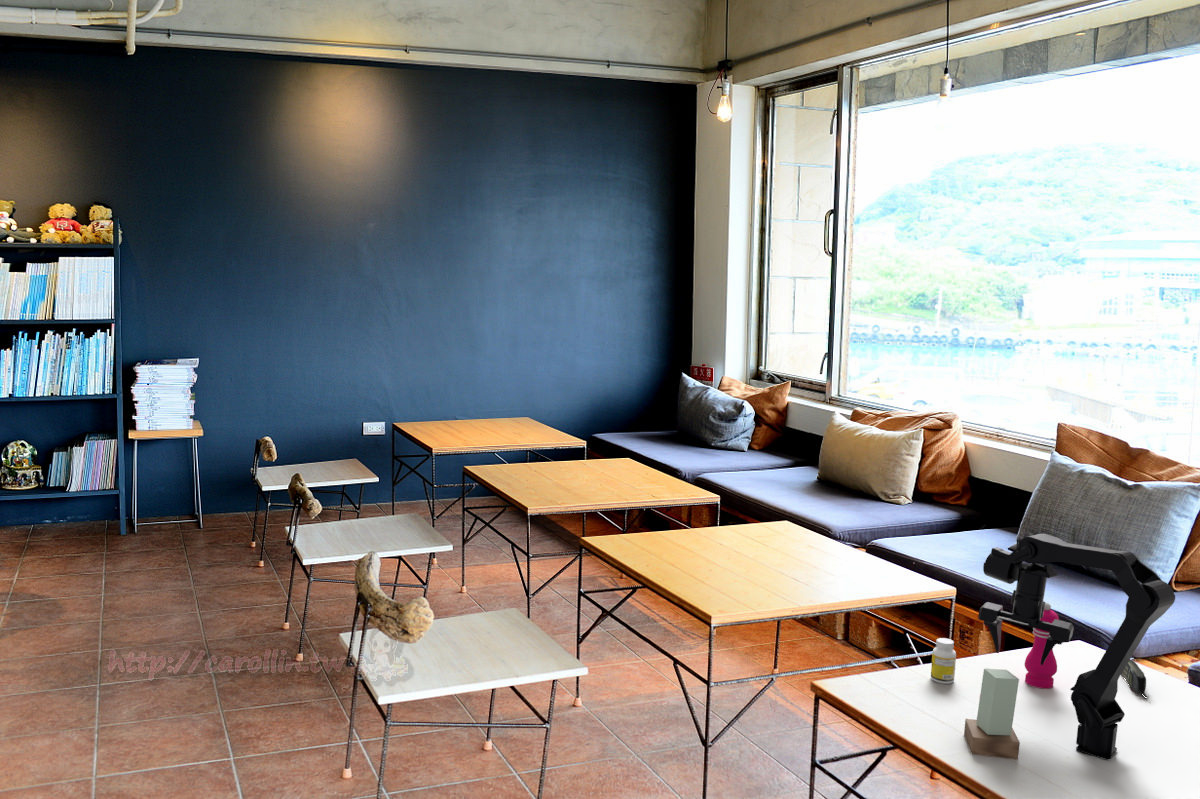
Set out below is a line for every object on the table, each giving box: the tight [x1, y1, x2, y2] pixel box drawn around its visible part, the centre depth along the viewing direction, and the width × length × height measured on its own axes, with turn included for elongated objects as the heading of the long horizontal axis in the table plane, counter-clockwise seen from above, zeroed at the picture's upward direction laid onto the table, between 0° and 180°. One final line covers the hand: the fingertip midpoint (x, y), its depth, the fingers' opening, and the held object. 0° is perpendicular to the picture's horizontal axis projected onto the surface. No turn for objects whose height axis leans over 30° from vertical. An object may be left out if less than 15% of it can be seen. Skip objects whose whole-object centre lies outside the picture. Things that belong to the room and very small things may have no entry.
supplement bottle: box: [930, 637, 957, 685], centre depth 249 cm, size 5×5×10 cm
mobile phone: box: [1120, 659, 1148, 698], centre depth 250 cm, size 5×3×15 cm
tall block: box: [976, 668, 1020, 736], centre depth 213 cm, size 5×5×12 cm
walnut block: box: [963, 718, 1021, 761], centre depth 214 cm, size 9×9×4 cm
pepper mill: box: [1024, 602, 1060, 690], centre depth 248 cm, size 7×7×20 cm
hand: (1019, 658), depth 228 cm, fingers open, 9 cm apart
